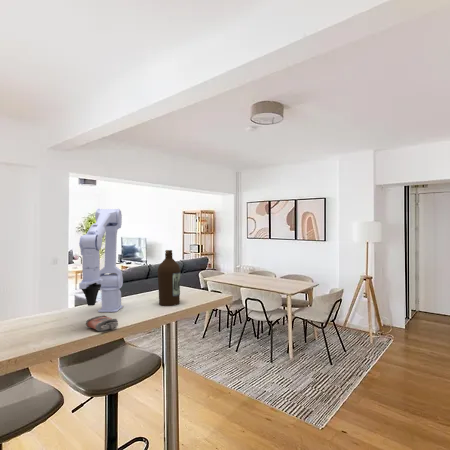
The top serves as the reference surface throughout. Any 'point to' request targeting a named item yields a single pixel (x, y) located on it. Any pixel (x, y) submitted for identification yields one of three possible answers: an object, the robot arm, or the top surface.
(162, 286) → the olive oil
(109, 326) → the lighter
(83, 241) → the robot arm
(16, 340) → the top surface
